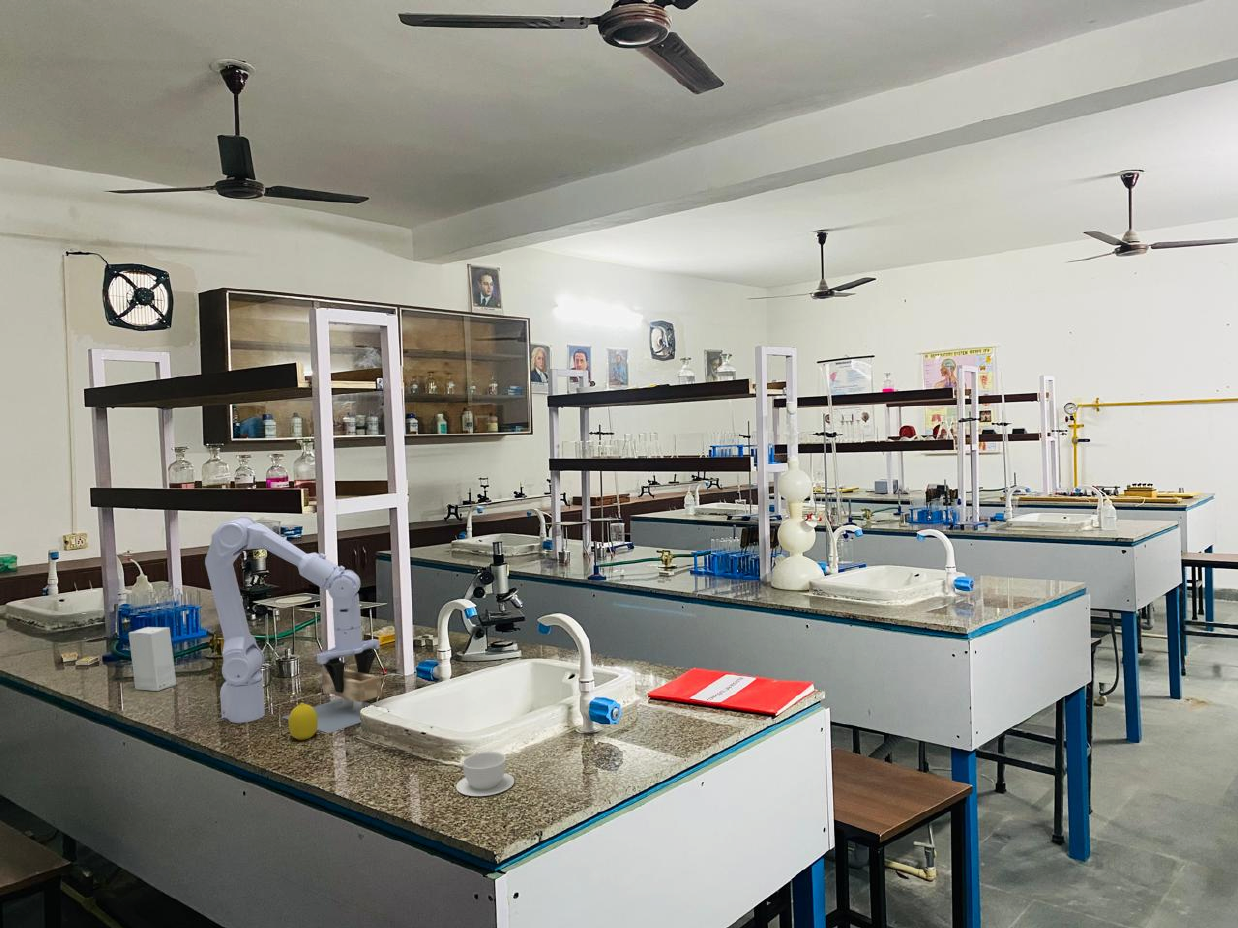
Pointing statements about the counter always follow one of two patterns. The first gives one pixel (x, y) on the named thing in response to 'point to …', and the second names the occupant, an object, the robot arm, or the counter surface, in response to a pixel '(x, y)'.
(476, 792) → the teacup
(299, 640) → the counter surface
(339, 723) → the board
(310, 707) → the lemon
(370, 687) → the open wooden crate
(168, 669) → the skincare box
